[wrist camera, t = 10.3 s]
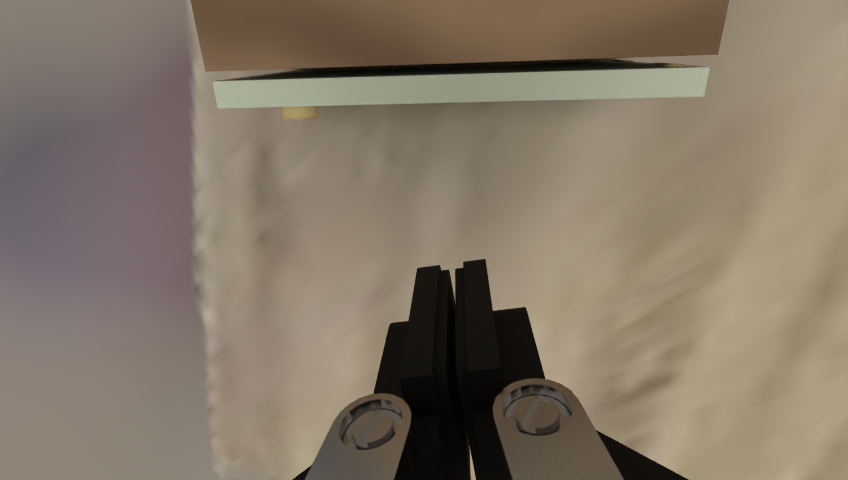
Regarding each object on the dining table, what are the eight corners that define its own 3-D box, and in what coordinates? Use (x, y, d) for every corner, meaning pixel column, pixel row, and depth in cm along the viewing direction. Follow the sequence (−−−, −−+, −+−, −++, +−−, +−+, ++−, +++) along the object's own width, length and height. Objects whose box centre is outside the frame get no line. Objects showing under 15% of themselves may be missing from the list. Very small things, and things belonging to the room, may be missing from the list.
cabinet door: (292, 69, 31) (211, 79, 20) (619, 59, 29) (710, 64, 19) (297, 103, 32) (222, 129, 21) (615, 95, 30) (699, 119, 20)
